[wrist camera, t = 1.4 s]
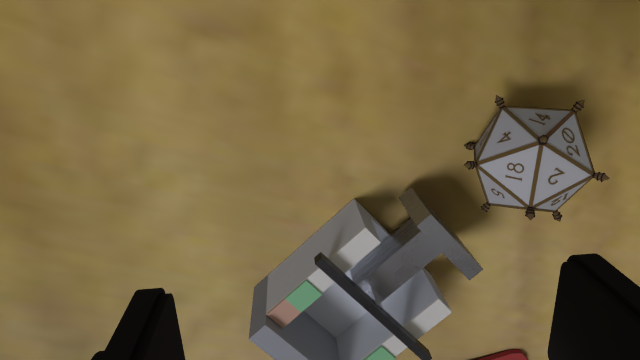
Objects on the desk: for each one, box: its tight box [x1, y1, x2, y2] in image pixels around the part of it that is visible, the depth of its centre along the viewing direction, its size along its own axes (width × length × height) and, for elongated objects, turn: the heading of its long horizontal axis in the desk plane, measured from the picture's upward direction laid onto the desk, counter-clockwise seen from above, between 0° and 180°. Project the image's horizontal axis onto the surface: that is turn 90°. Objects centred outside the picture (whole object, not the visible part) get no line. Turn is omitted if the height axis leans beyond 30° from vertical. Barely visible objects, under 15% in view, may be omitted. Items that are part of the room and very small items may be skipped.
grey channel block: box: [314, 187, 483, 360], centre depth 34 cm, size 8×12×5 cm
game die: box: [464, 95, 610, 222], centre depth 32 cm, size 9×8×10 cm
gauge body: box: [249, 199, 452, 360], centre depth 35 cm, size 11×10×6 cm
